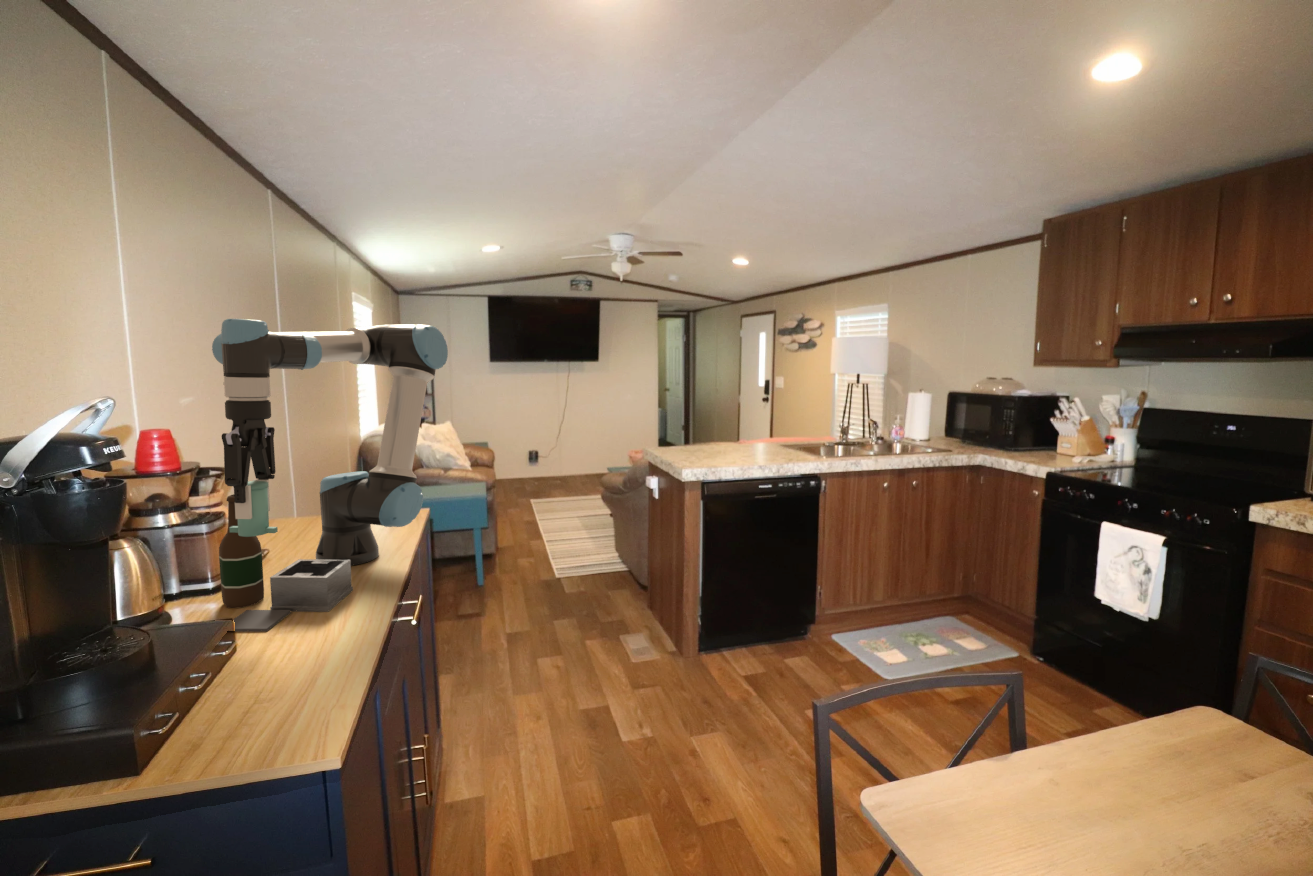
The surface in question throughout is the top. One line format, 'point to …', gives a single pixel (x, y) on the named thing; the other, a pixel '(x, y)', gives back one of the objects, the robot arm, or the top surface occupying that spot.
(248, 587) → the beer bottle
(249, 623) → the pad
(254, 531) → the green upright cylinder
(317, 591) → the grey storage bin
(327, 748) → the top surface
